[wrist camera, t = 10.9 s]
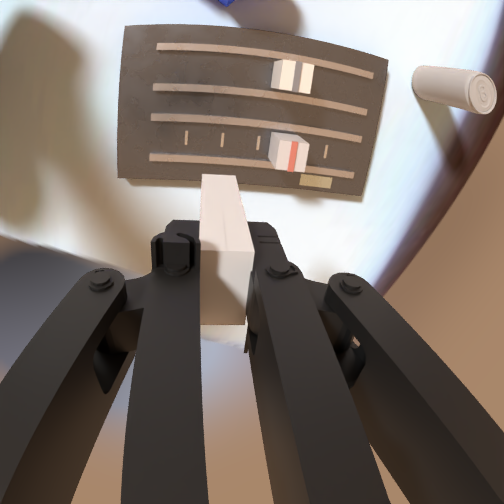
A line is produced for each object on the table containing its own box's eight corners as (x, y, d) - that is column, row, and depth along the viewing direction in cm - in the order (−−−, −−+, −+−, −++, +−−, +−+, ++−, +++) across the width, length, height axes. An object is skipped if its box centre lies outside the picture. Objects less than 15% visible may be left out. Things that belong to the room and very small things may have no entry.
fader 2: (267, 157, 35) (275, 170, 31) (271, 131, 34) (280, 139, 29) (293, 160, 36) (304, 173, 31) (297, 134, 34) (310, 143, 30)
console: (122, 172, 36) (116, 179, 34) (129, 28, 27) (123, 25, 25) (355, 190, 41) (363, 197, 39) (380, 60, 32) (390, 59, 30)
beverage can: (416, 104, 35) (475, 121, 25) (404, 71, 33) (463, 78, 22) (441, 93, 34) (501, 108, 24) (429, 61, 32) (490, 67, 22)
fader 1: (270, 87, 31) (279, 89, 27) (274, 61, 30) (283, 58, 25) (297, 92, 32) (310, 94, 27) (301, 65, 30) (314, 64, 26)
